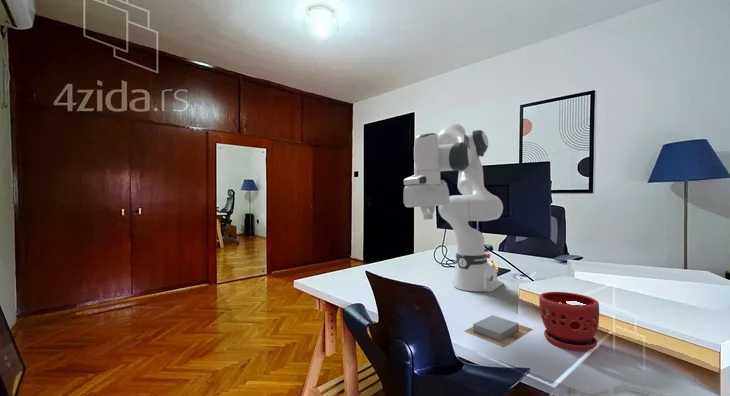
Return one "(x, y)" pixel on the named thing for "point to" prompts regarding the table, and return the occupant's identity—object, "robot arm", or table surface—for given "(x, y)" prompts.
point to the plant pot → (570, 320)
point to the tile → (496, 327)
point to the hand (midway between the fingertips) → (428, 219)
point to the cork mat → (504, 342)
